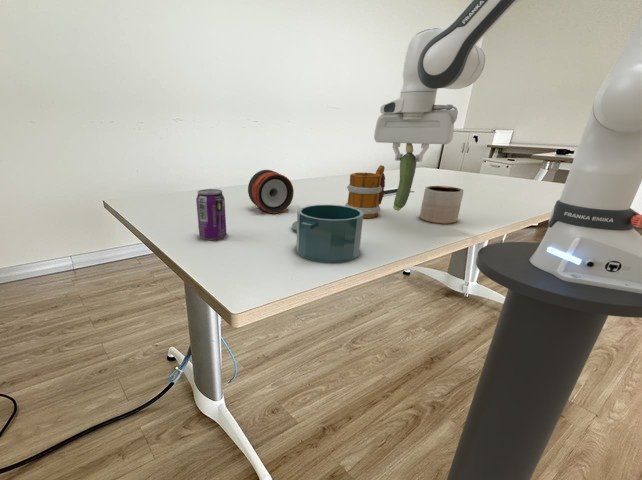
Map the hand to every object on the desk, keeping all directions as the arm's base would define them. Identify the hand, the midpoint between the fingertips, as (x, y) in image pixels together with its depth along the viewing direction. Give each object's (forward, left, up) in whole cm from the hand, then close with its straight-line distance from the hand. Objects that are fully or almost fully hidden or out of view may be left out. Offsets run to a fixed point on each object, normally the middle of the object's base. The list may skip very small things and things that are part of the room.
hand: (408, 161), depth 96 cm
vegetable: (0, 0, -14) cm, 14 cm away
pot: (+4, +34, -18) cm, 39 cm away
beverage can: (+33, +44, -18) cm, 58 cm away
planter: (-8, -13, -18) cm, 24 cm away
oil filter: (+41, +11, -18) cm, 46 cm away
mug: (+13, -6, -18) cm, 23 cm away
